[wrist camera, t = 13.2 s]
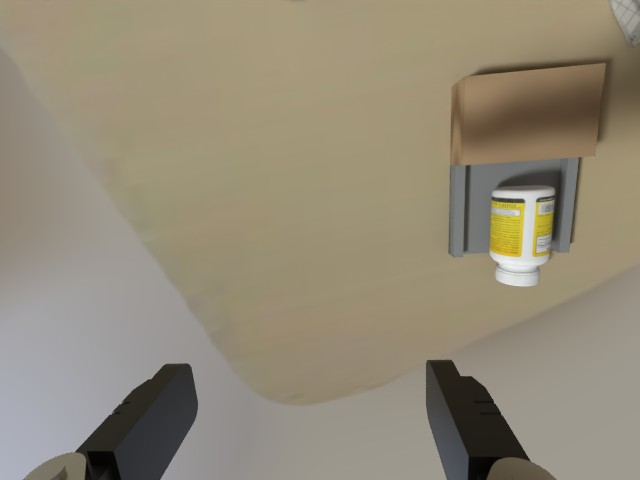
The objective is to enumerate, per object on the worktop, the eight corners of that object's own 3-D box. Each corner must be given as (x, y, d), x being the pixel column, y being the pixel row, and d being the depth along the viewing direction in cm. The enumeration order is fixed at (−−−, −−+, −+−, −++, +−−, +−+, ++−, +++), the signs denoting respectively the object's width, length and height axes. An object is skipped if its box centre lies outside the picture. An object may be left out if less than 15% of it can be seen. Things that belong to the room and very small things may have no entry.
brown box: (451, 86, 34) (465, 76, 30) (575, 74, 33) (605, 62, 29) (450, 165, 36) (463, 165, 32) (567, 156, 34) (595, 156, 31)
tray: (450, 165, 36) (455, 165, 34) (567, 156, 34) (579, 156, 33) (448, 253, 38) (453, 257, 36) (558, 247, 37) (568, 252, 35)
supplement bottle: (486, 186, 36) (482, 271, 38) (500, 190, 30) (495, 289, 33) (541, 183, 34) (534, 271, 36) (567, 187, 29) (557, 290, 31)
